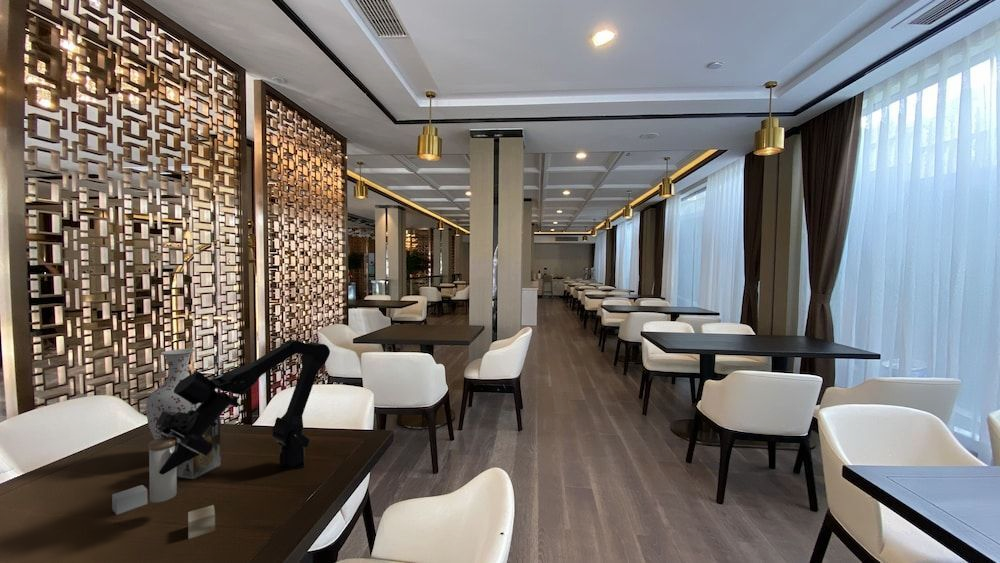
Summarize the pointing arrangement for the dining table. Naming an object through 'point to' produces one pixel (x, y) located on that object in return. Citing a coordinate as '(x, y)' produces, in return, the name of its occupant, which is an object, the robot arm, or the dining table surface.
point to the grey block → (129, 499)
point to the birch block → (201, 521)
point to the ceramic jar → (158, 455)
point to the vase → (169, 390)
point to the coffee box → (203, 456)
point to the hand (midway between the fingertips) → (156, 470)
